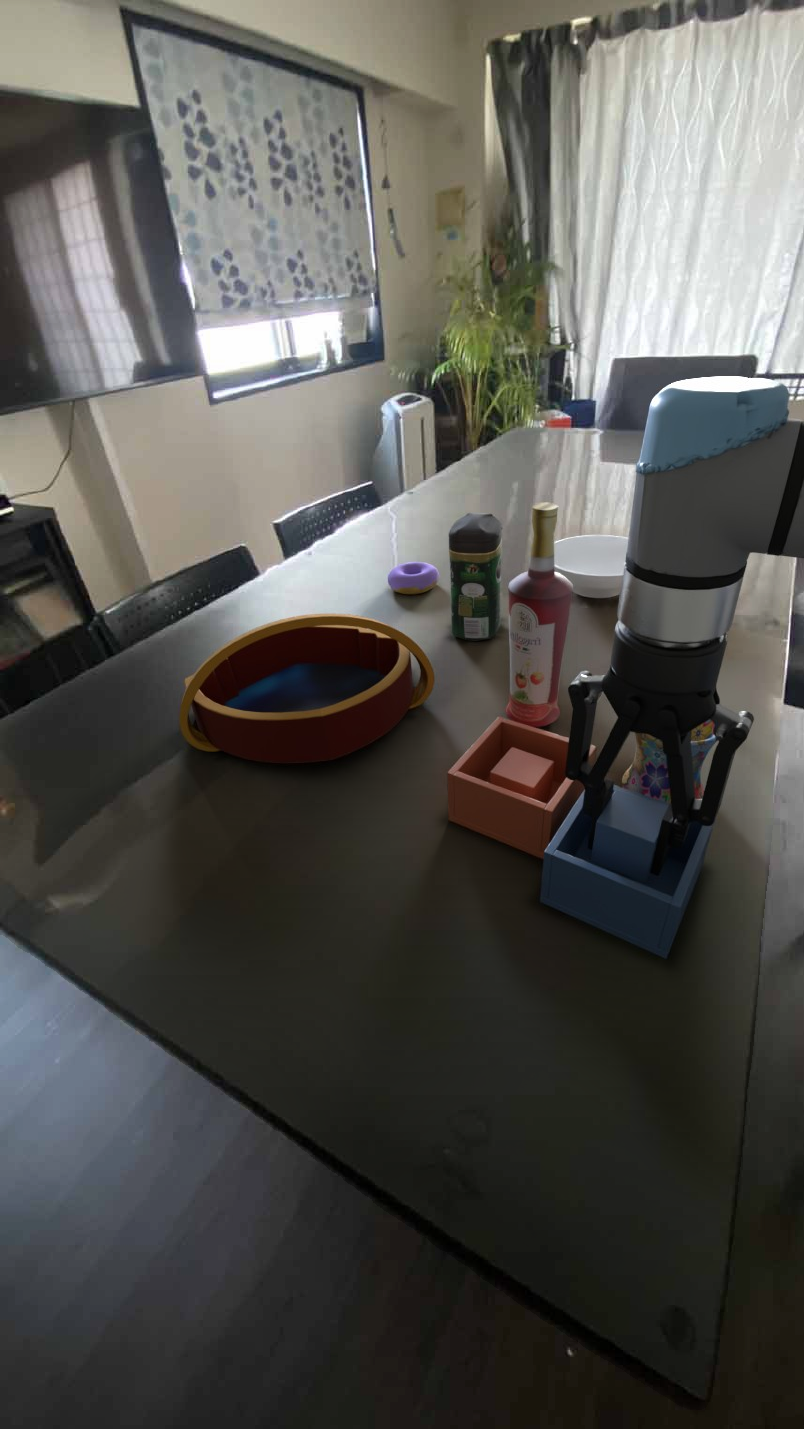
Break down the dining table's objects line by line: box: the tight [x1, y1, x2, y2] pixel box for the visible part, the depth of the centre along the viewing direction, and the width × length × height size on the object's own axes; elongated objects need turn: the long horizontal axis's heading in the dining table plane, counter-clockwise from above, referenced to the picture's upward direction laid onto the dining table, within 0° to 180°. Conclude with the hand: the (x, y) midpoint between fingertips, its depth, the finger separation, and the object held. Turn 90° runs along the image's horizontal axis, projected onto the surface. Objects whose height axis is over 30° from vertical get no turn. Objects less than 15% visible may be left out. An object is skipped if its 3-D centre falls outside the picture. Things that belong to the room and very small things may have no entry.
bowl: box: [554, 534, 629, 599], centre depth 113 cm, size 20×20×7 cm
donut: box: [387, 561, 440, 595], centre depth 121 cm, size 10×9×5 cm
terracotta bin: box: [446, 716, 597, 860], centre depth 69 cm, size 12×12×7 cm
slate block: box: [591, 789, 668, 882], centre depth 57 cm, size 5×5×5 cm
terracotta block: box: [490, 747, 554, 804], centre depth 69 cm, size 5×5×5 cm
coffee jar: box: [448, 512, 503, 642], centre depth 101 cm, size 10×8×19 cm
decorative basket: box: [178, 613, 435, 764], centre depth 84 cm, size 34×29×15 cm
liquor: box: [505, 501, 573, 729], centre depth 76 cm, size 7×7×28 cm
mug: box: [621, 719, 719, 804], centre depth 69 cm, size 12×9×11 cm
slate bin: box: [539, 784, 716, 959], centre depth 59 cm, size 12×12×7 cm
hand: (627, 851), depth 59 cm, fingers closed on slate block, 5 cm apart
